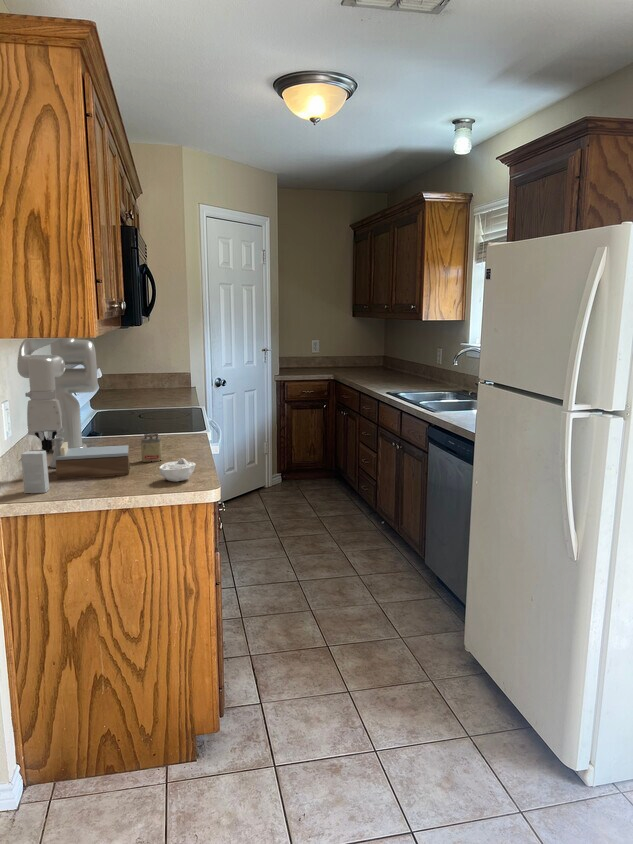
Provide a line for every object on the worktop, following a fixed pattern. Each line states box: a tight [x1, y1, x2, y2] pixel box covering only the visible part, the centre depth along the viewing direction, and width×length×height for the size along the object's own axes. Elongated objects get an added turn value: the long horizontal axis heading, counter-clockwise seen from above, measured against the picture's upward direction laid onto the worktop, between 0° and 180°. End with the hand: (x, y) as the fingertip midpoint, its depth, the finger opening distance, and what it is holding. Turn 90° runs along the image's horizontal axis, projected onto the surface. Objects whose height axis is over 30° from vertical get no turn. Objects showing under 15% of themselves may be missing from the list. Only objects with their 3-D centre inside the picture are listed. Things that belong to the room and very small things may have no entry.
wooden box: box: [55, 450, 130, 480], centre depth 206 cm, size 13×22×6 cm, turn 106°
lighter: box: [140, 432, 163, 463], centre depth 223 cm, size 7×4×10 cm, turn 106°
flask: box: [49, 437, 64, 469], centre depth 215 cm, size 7×7×10 cm
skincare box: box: [20, 450, 50, 494], centre depth 183 cm, size 6×4×12 cm
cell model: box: [158, 457, 196, 482], centre depth 196 cm, size 10×12×7 cm
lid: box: [56, 442, 129, 460], centre depth 206 cm, size 13×22×4 cm, turn 106°
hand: (47, 451), depth 202 cm, fingers closed
